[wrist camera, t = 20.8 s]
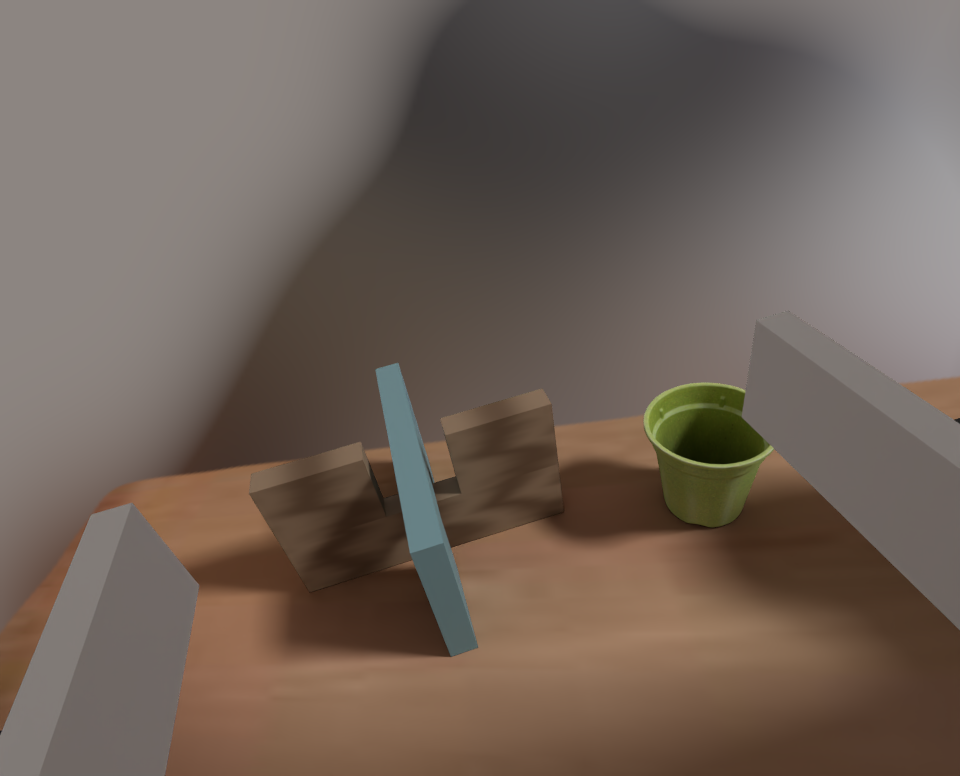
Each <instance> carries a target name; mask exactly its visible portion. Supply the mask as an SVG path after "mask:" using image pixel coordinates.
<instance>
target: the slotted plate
mask: <svg viewBox="0 0 960 776" xmlns="http://www.w3.org/2000/svg"><path fill="white" fill-rule="evenodd" d="M376 374H377V380H378V385H379V391H380V396H381V402H382V406H383V412H384V417H385V422H386V428H387V433H388V439H389V444H390V449H391V455H392V460H393V465H394V471H395V476H396V481H397V487H398V492H399V497H400V503H401V508H402V513H403V519H404V524H405V529H406V534H407V540H408V545H409V550H410V555H411V557H412V560H413V562H414V565H415V567H416V570H417V572H418V575H419V577H420V580H421V582H422V585H423V587H424V590H425V592H426V595H427V597H428V600H429V602H430V605H431V608H432V610H433V613H434V615H435V618H436V620H437V623H438V625H439V628H440V630H441V633H442V635H443V638H444V640H445V643H446V645H447V648H448V650H449V653H450V655H451V657H452V656H455V655H458V654H461V653H464V652H467V651H469V650H472V649H475V648H478V645H477V641H476V637H475V634H474V630H473V626H472V622H471V619H470V615H469V611H468V607H467V603H466V600H465V596H464V592H463V588H462V585H461V581H460V577H459V573H458V570H457V566H456V563H455V560H454V557H453V554H452V551H451V547H450V544H449V541H448V538H447V535H446V532H445V529H444V526H443V523H442V519H441V516H440V512H439V508H438V504H437V501H436V497H435V493H434V489H433V485H432V483H434V479H433V475H432V471H431V468H430V464H429V460H428V457H427V454H426V451H425V447H424V444H423V441H422V438H421V435H420V432H419V428H418V425H417V422H416V419H415V416H414V413H413V409H412V406H411V403H410V400H409V396H408V393H407V390H406V387H405V384H404V380H403V377H402V374H401V371H400V368H399V364H398V363H396V364H392V365H389V366H385V367H382V368H378V369H376Z"/></svg>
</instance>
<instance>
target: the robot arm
mask: <svg viewBox="0 0 960 776" xmlns="http://www.w3.org/2000/svg"><path fill="white" fill-rule="evenodd" d="M742 418H743V419H744V420H745V421H746V422H747V423H748V424H749V425H750V426H751V427H752V428H753V429H754V430H755V431H756V432H757V433H759V434H760V435H761V436H762V437H763V438H764V439H765V440H766V441H767V442H768V443H769V444H770V445H771V446H772V447H773V448H774V449H775V450H776V451H777V452H778V453H779V454H780V455H781V456H782V457H783V458H784V459H785V460H786V461H787V462H788V463H789V464H790V465H791V466H792V467H793V468H794V469H795V470H796V471H797V472H798V473H799V474H800V475H801V476H802V477H804V478H805V479H806V480H807V481H808V482H809V483H810V484H811V485H812V486H813V487H814V488H815V489H816V490H817V491H818V492H819V493H820V494H821V495H822V496H823V497H824V498H825V499H826V500H827V501H828V502H829V503H830V504H831V505H832V506H833V507H834V508H835V509H836V510H837V511H838V512H839V513H840V514H841V515H842V516H843V517H844V518H845V519H846V520H847V521H849V522H850V523H851V524H852V525H853V526H854V527H855V528H856V529H857V530H858V531H859V532H860V533H861V534H862V535H863V536H864V537H865V538H866V539H867V540H868V541H869V542H870V543H871V544H872V545H873V546H874V547H875V548H876V549H877V550H878V551H879V552H880V553H881V554H882V555H883V556H884V557H885V558H886V559H887V560H888V561H889V562H890V563H891V564H892V565H894V566H895V567H896V568H897V569H898V570H899V571H900V572H901V573H902V574H903V575H904V576H905V577H906V578H907V579H908V580H909V581H910V582H911V583H912V584H913V585H914V586H915V587H916V588H917V589H918V590H919V591H920V592H921V593H922V594H923V595H924V596H925V597H926V598H927V599H928V600H929V601H930V602H931V603H932V604H933V605H934V606H935V607H936V608H937V609H939V610H940V611H941V612H942V613H943V614H944V615H945V616H946V617H947V618H948V619H949V620H950V621H951V622H952V623H953V624H954V625H955V626H956V627H957V628H958V629H959V630H960V418H958V419H955V420H953V419H952V418H950V417H949V416H947V415H946V414H944V413H943V412H941V411H939V410H938V409H936V408H935V407H933V406H932V405H930V404H929V403H927V402H926V401H924V400H923V399H921V398H920V397H918V396H917V395H915V394H914V393H912V392H911V391H909V390H908V389H906V388H905V387H903V386H902V385H900V384H899V383H897V382H896V381H894V380H893V379H891V378H889V377H888V376H886V375H885V374H884V373H882V372H881V371H879V370H878V369H876V368H875V367H873V366H871V365H870V364H868V363H867V362H865V361H864V360H862V359H861V358H859V357H858V356H856V355H855V354H853V353H852V352H850V351H849V350H847V349H846V348H844V347H843V346H841V345H840V344H838V343H837V342H835V341H834V340H832V339H831V338H829V337H827V336H826V335H825V334H823V333H822V332H820V331H819V330H817V329H815V328H814V327H812V326H811V325H810V324H808V323H806V322H805V321H803V320H802V319H800V318H799V317H797V316H796V315H794V314H793V313H791V312H790V311H786V312H782V313H779V314H775V315H772V316H769V317H765V318H762V319H758V320H756V325H755V333H754V338H753V345H752V352H751V358H750V365H749V372H748V378H747V385H746V391H745V398H744V405H743V411H742ZM198 590H199V584H198V583H197V582H196V581H195V579H194V578H193V577H192V576H191V575H190V573H189V572H188V571H187V570H186V568H185V567H184V566H183V565H182V563H181V562H180V561H179V560H178V558H177V557H176V556H175V555H174V554H173V552H172V551H171V550H170V549H169V547H168V546H167V545H166V544H165V542H164V541H163V540H162V539H161V538H160V536H159V535H158V534H157V533H156V531H155V530H154V529H153V528H152V526H151V525H150V524H149V523H148V522H147V520H146V519H145V518H144V517H143V515H142V514H141V513H140V512H139V510H138V509H137V508H136V507H135V506H134V504H133V503H130V504H126V505H123V506H119V507H116V508H113V509H109V510H106V511H102V512H99V513H96V514H92V515H91V516H90V519H89V521H88V524H87V526H86V529H85V531H84V533H83V536H82V538H81V541H80V543H79V546H78V548H77V550H76V553H75V555H74V558H73V560H72V562H71V565H70V567H69V570H68V572H67V575H66V577H65V579H64V582H63V584H62V587H61V589H60V592H59V594H58V596H57V599H56V601H55V604H54V606H53V609H52V611H51V613H50V616H49V618H48V621H47V623H46V626H45V628H44V630H43V633H42V635H41V638H40V640H39V642H38V645H37V647H36V650H35V652H34V655H33V657H32V659H31V662H30V664H29V667H28V669H27V672H26V674H25V676H24V679H23V681H22V684H21V686H20V689H19V691H18V693H17V696H16V698H15V701H14V703H13V706H12V708H11V710H10V713H9V715H8V718H7V720H6V722H5V725H4V727H3V730H2V731H0V776H165V772H166V767H167V761H168V756H169V750H170V745H171V739H172V733H173V728H174V722H175V717H176V711H177V706H178V700H179V695H180V689H181V684H182V678H183V673H184V667H185V662H186V656H187V651H188V645H189V640H190V634H191V629H192V623H193V618H194V612H195V607H196V601H197V595H198Z"/></svg>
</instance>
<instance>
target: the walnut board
mask: <svg viewBox="0 0 960 776" xmlns="http://www.w3.org/2000/svg"><path fill="white" fill-rule="evenodd" d="M440 420H441V424H442V428H443V431H444V435H445V438H446V442H447V446H448V449H449V453H450V456H451V460H452V464H453V467H454V471H455V474H456V476H455V477H452V478H449V479H445V480H442V481H439V482H436V483H432V485H433V489H434V493H435V497H436V501H437V504H438V508H439V512H440V516H441V519H442V523H443V526H444V529H445V532H446V535H447V538H448V541H449V544H450V547H454V546H457V545H460V544H464V543H467V542H470V541H473V540H476V539H479V538H482V537H486V536H489V535H492V534H495V533H498V532H501V531H504V530H508V529H511V528H514V527H517V526H520V525H523V524H527V523H530V522H533V521H536V520H539V519H542V518H545V517H549V516H552V515H555V514H558V513H561V512H564V507H563V499H562V490H561V482H560V473H559V464H558V456H557V447H556V439H555V430H554V422H553V413H552V404H551V402H550V401H549V399H548V397H547V395H546V394H545V392H544V390H543V389H539V390H536V391H532V392H528V393H525V394H522V395H519V396H515V397H512V398H508V399H505V400H501V401H498V402H495V403H491V404H488V405H484V406H481V407H478V408H474V409H471V410H467V411H464V412H460V413H457V414H454V415H450V416H447V417H443V418H440ZM249 495H250V496H251V498H252V499H253V501H254V503H255V504H256V506H257V508H258V509H259V511H260V512H261V514H262V516H263V517H264V519H265V521H266V522H267V524H268V525H269V527H270V529H271V530H272V532H273V534H274V535H275V537H276V538H277V540H278V542H279V543H280V545H281V547H282V548H283V550H284V552H285V553H286V555H287V556H288V558H289V560H290V561H291V563H292V565H293V566H294V568H295V569H296V571H297V573H298V574H299V576H300V578H301V579H302V581H303V582H304V584H305V586H306V587H307V589H308V591H309V592H313V591H316V590H319V589H322V588H325V587H328V586H331V585H335V584H338V583H341V582H344V581H347V580H350V579H353V578H357V577H360V576H363V575H366V574H369V573H372V572H375V571H379V570H382V569H385V568H388V567H391V566H394V565H398V564H401V563H404V562H407V561H410V560H412V557H411V555H410V550H409V545H408V540H407V534H406V529H405V524H404V519H403V513H402V508H401V503H400V497H399V494H396V495H393V496H390V497H386V498H383V496H382V493H381V491H380V488H379V486H378V484H377V481H376V479H375V476H374V474H373V471H372V469H371V466H370V464H369V461H368V459H367V456H366V454H365V451H364V449H363V446H362V444H361V442H358V443H355V444H351V445H348V446H345V447H341V448H338V449H334V450H331V451H328V452H324V453H321V454H317V455H314V456H311V457H307V458H304V459H300V460H297V461H294V462H290V463H287V464H283V465H280V466H276V467H273V468H270V469H266V470H263V471H259V472H256V473H253V474H251V481H250V489H249Z"/></svg>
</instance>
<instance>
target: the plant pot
mask: <svg viewBox="0 0 960 776" xmlns="http://www.w3.org/2000/svg"><path fill="white" fill-rule="evenodd" d="M745 391H746V390H743V389H741V388H738V387H734V386H730V385H725V384H719V383H692V384H686V385H681V386H678V387H675V388H672V389H670V390H667V391H665V392H663V393H662V394H660V395H659V396H657V397H656V398H655V399H654V400H653V401H652V402H651V403H650V405H649V406H648V407H647V409H646V412H645V414H644V430H645V433H646V435H647V437H648V439H649V440H650V442H651V443H652V445H653V447H654V449H655V451H656V453H657V459H658V464H659V470H660V475H661V481H662V488H663V494H664V499H665V502H666V505H667V506H668V508H669V509H670V511H671V512H672V513H673V514H674V515H675V516H677V517H678V518H679V519H681V520H683V521H685V522H687V523H694V524H700V525H704V526H707V527H718V526H722V525H725V524H728V523H730V522H732V521H733V520H735V519H736V518H737V517H738V516H739V514H740V513H741V511H742V509H743V506H744V504H745V501H746V498H747V496H748V493H749V491H750V488H751V486H752V483H753V481H754V478H755V476H756V473H757V471H758V468H759V466H760V464H761V463H762V462H763V461H764V459H765V458H766V457H767V456H768V455H769V454H770V453H771V452H772V451H773V450H774V448H773V447H772V446H771V445H770V444H769V443H768V442H767V441H766V440H765V439H764V438H763V437H762V436H761V435H760V434H759V433H757V432H756V431H755V430H754V429H753V428H752V427H751V426H750V425H749V424H748V423H747V422H746V421H745V420H744V419H743V418H742V411H743V405H744V398H745Z"/></svg>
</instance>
